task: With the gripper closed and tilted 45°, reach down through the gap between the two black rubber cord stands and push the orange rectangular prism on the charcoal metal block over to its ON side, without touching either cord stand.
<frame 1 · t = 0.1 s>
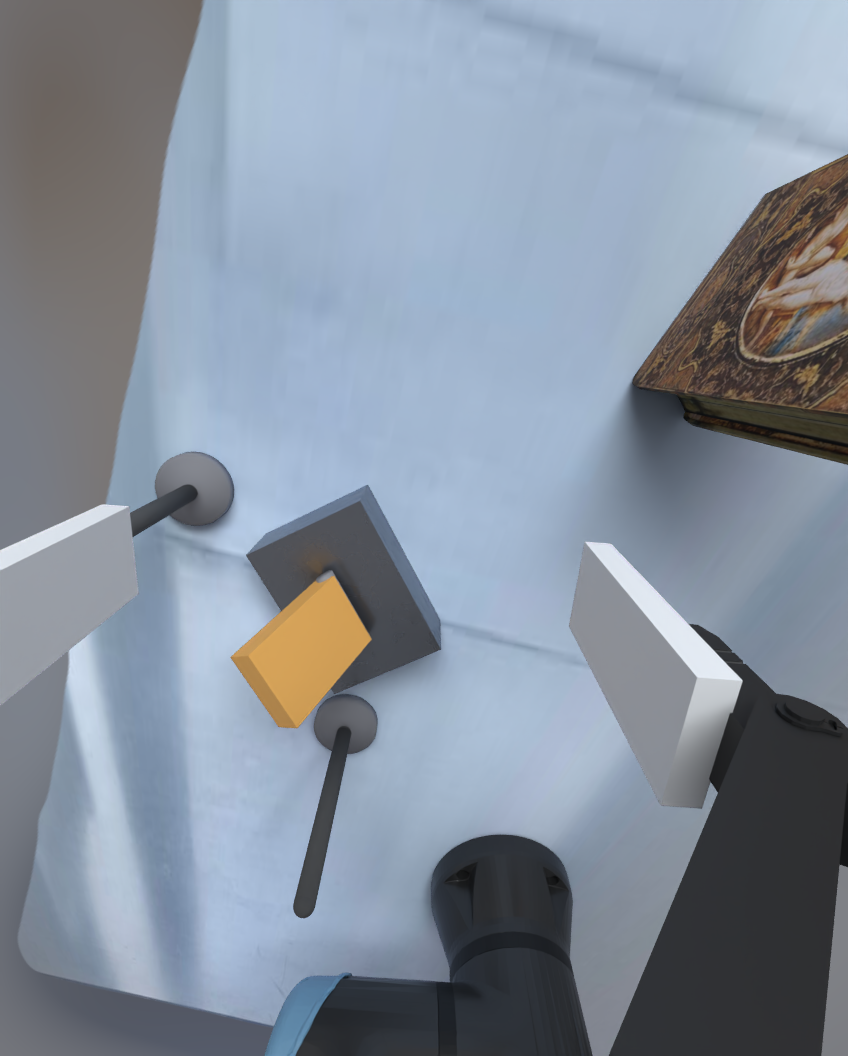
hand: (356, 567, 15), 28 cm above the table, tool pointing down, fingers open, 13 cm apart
book: (724, 308, 38), on the table
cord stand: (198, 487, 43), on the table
orange rectangular prism: (311, 644, 37), point 10 cm above the table, hinge at -30.0°
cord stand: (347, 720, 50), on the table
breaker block: (355, 577, 46), on the table
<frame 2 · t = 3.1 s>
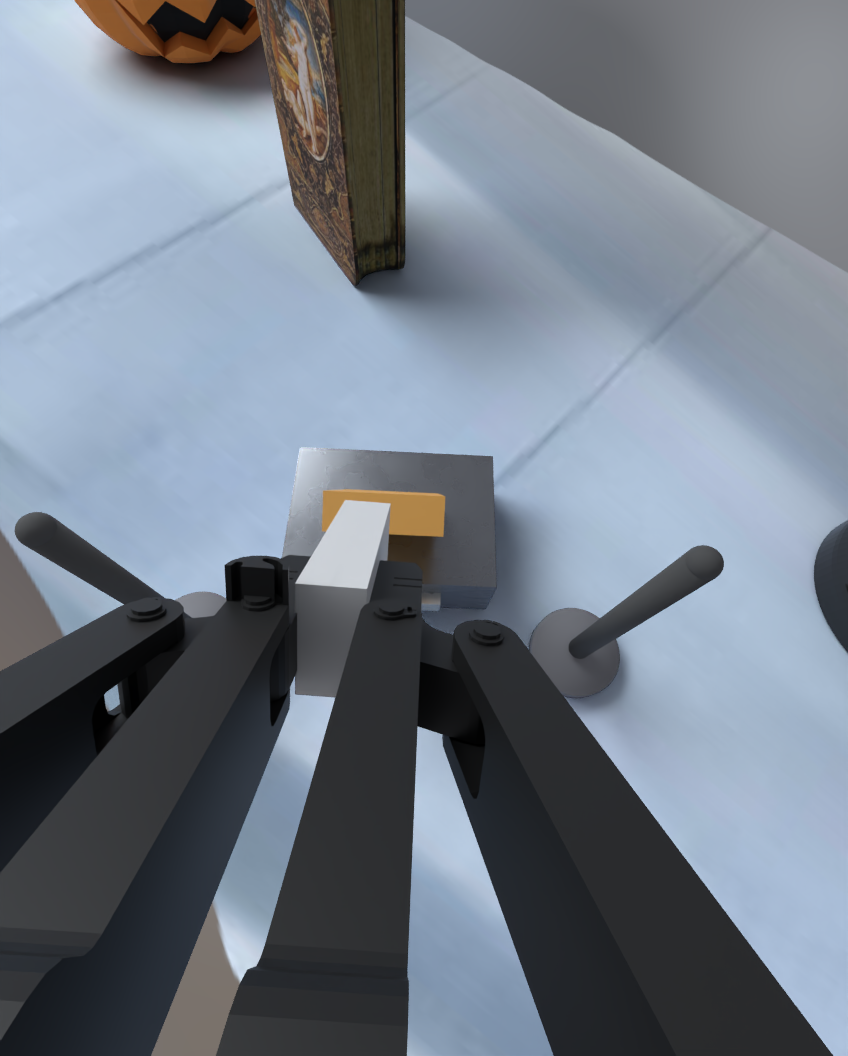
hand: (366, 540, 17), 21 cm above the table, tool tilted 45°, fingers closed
book: (345, 236, 55), on the table
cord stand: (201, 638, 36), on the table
orange rectangular prism: (388, 509, 30), point 10 cm above the table, hinge at -30.0°
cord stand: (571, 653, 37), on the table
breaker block: (393, 542, 40), on the table
jack-o'-lantern: (196, 43, 71), on the table
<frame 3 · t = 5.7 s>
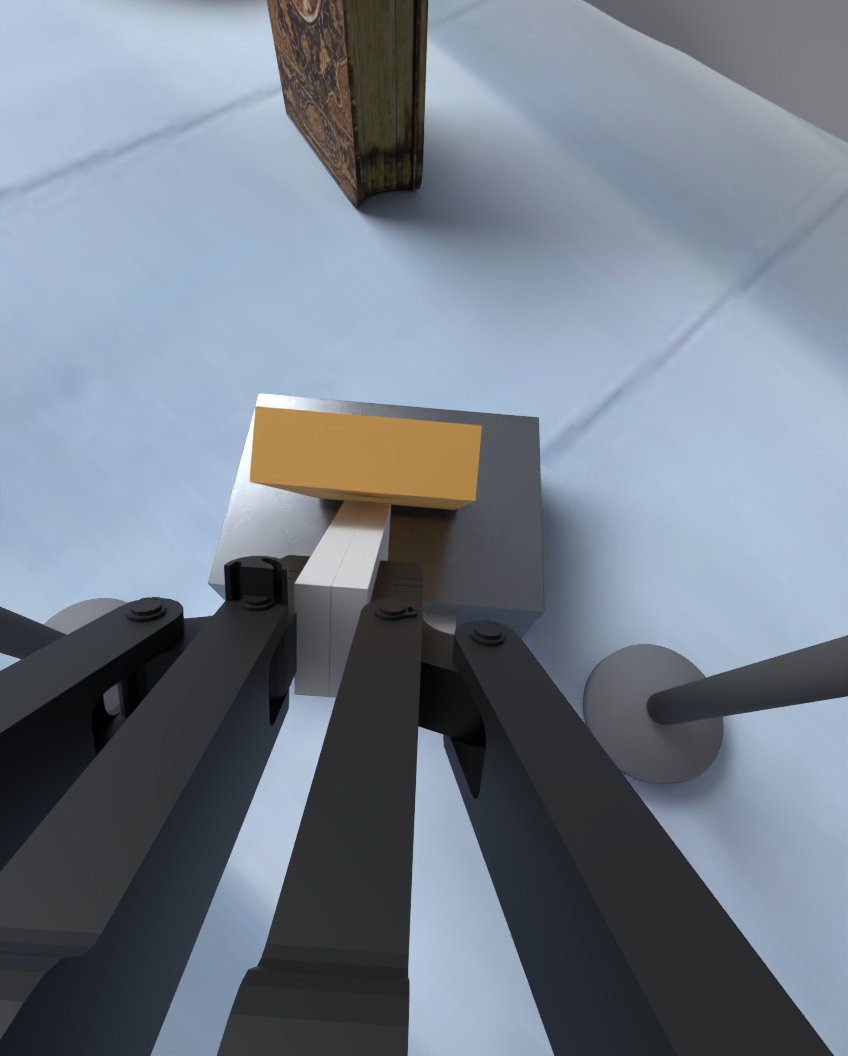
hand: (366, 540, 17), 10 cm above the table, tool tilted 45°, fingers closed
book: (347, 151, 43), on the table
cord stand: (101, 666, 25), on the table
orange rectangular prism: (380, 472, 18), point 10 cm above the table, hinge at -26.0°, touching gripper
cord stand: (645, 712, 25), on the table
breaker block: (390, 537, 28), on the table
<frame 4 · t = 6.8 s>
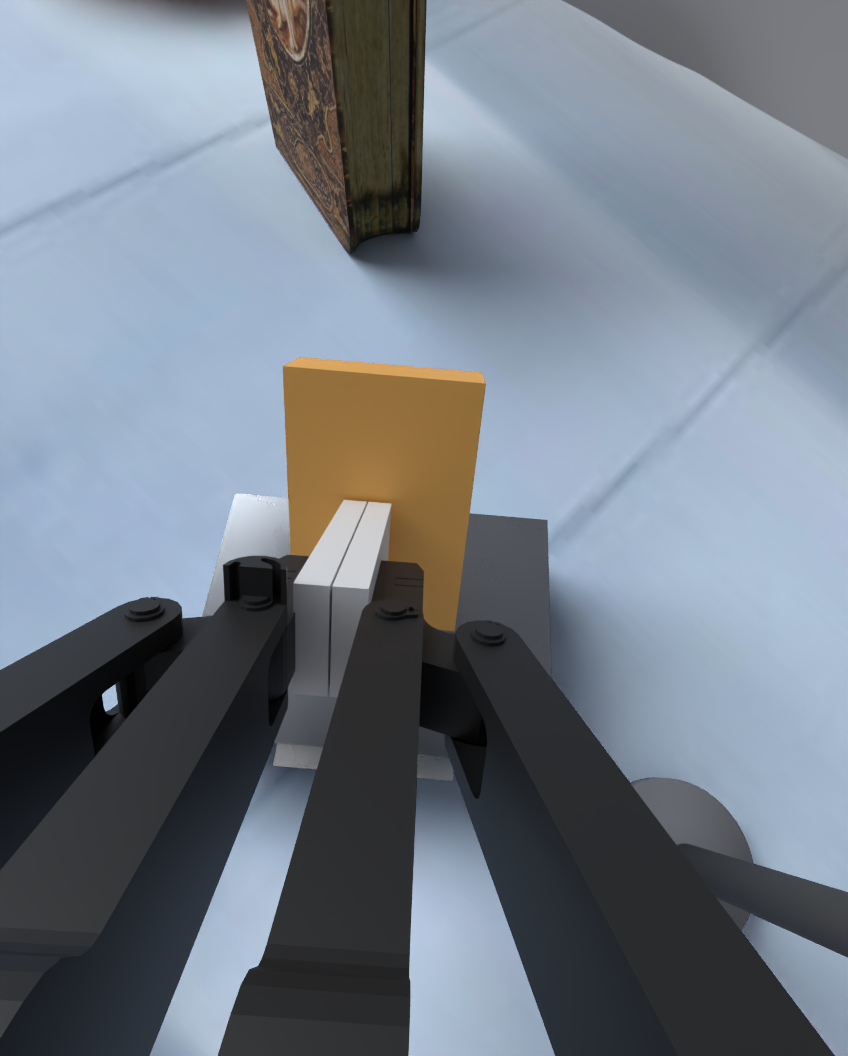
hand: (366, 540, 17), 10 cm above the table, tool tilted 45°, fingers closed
book: (341, 189, 41), on the table
orange rectangular prism: (381, 511, 18), point 9 cm above the table, hinge at 39.3°, touching gripper
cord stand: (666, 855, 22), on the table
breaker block: (382, 643, 25), on the table
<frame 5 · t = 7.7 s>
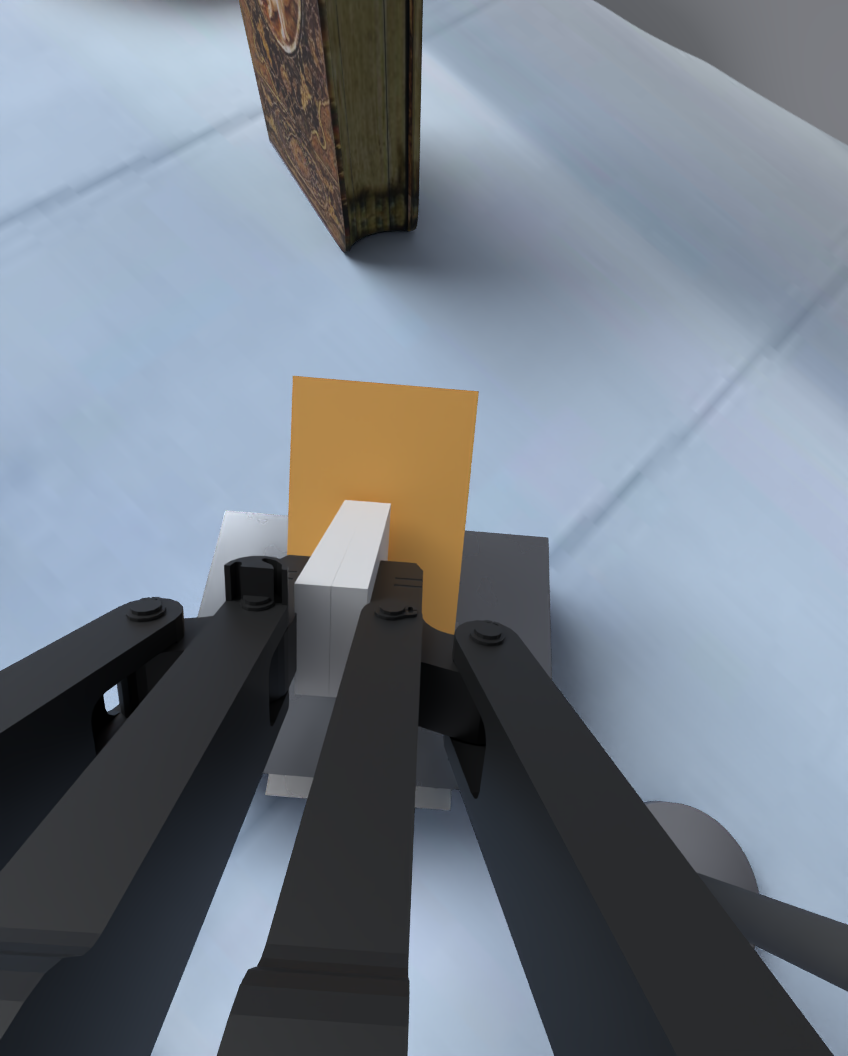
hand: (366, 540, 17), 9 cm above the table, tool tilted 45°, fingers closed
book: (336, 185, 39), on the table
orange rectangular prism: (379, 525, 18), point 8 cm above the table, hinge at 54.9°, touching gripper
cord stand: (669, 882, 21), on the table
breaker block: (379, 661, 25), on the table
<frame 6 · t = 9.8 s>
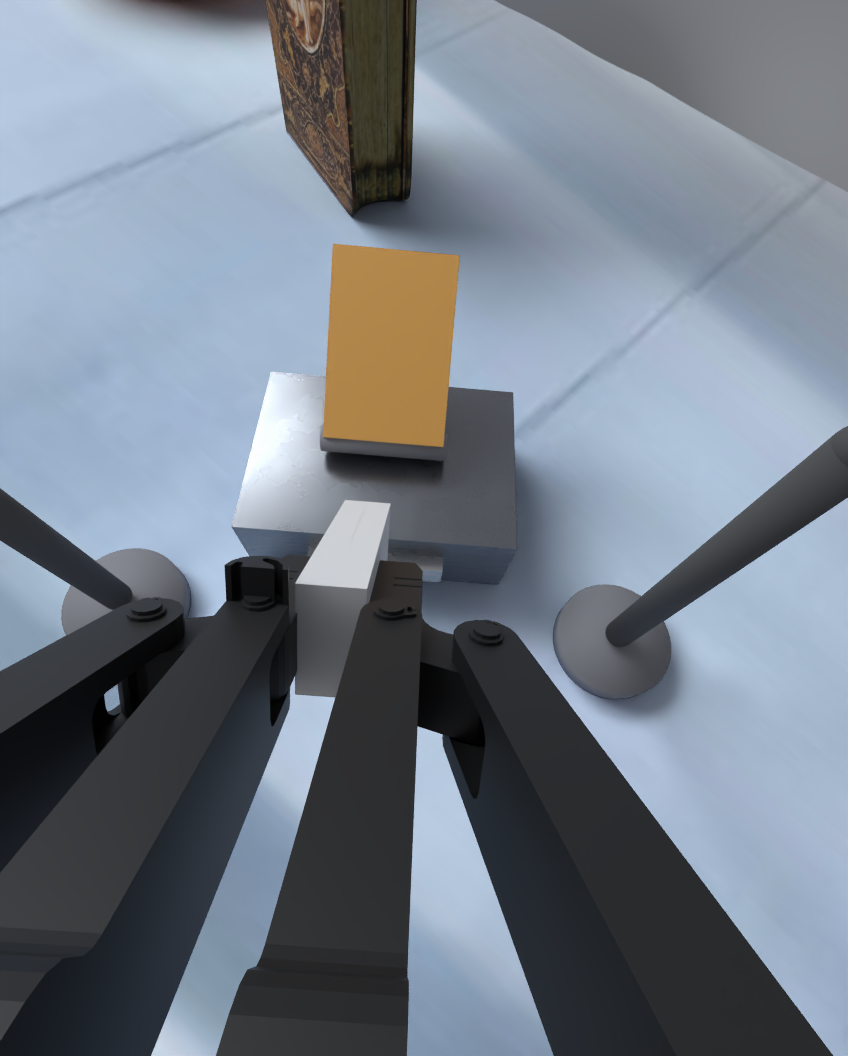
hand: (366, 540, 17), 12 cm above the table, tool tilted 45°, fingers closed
book: (342, 166, 48), on the table
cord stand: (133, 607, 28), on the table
orange rectangular prism: (390, 359, 26), point 8 cm above the table, hinge at 55.1°
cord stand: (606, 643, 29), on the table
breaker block: (385, 500, 32), on the table
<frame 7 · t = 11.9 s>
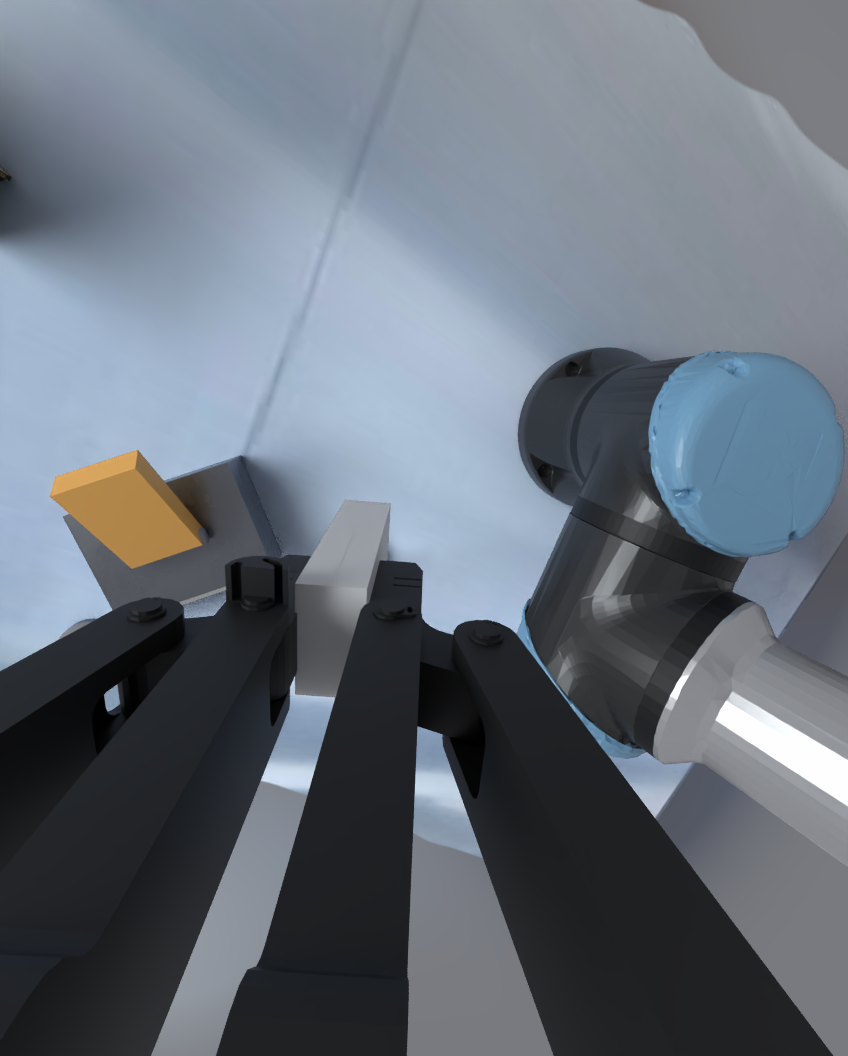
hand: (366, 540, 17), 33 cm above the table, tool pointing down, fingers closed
orange rectangular prism: (137, 516, 39), point 8 cm above the table, hinge at 55.1°
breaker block: (190, 529, 48), on the table
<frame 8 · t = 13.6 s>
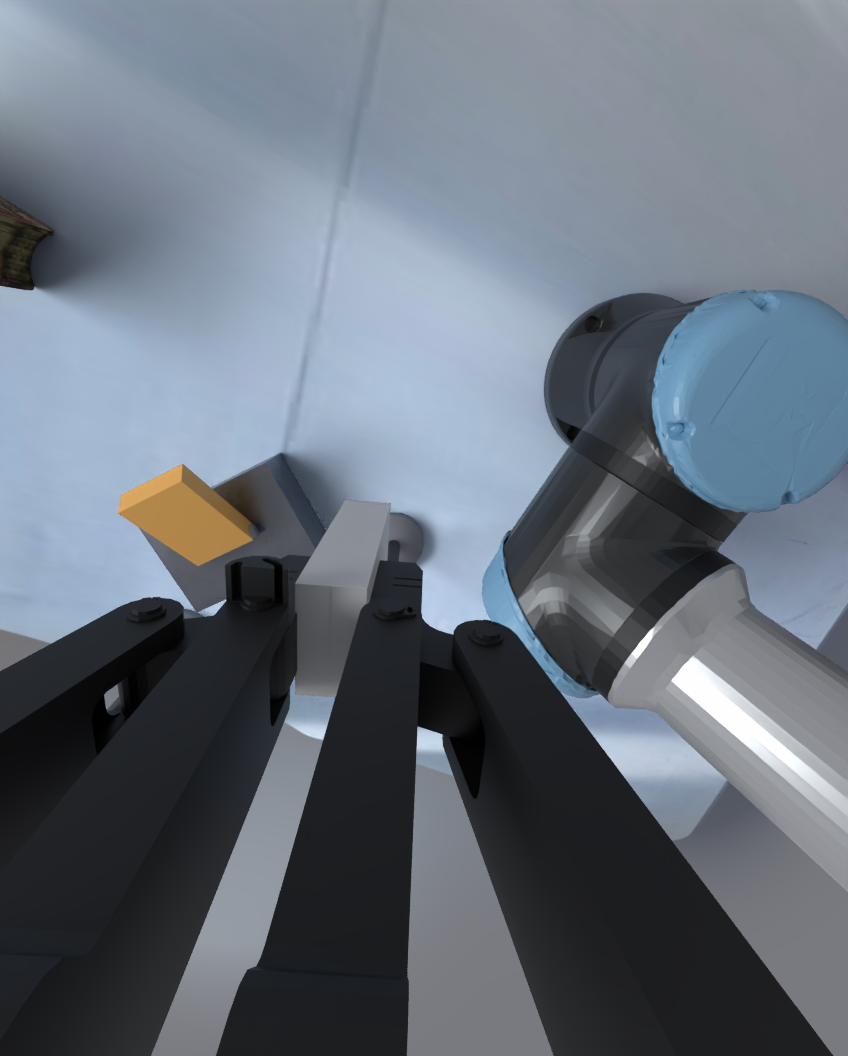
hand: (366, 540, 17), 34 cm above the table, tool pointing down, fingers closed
orange rectangular prism: (193, 521, 44), point 8 cm above the table, hinge at 55.1°
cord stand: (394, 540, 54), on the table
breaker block: (247, 524, 53), on the table
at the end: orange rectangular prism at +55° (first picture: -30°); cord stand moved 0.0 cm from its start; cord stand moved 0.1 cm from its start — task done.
